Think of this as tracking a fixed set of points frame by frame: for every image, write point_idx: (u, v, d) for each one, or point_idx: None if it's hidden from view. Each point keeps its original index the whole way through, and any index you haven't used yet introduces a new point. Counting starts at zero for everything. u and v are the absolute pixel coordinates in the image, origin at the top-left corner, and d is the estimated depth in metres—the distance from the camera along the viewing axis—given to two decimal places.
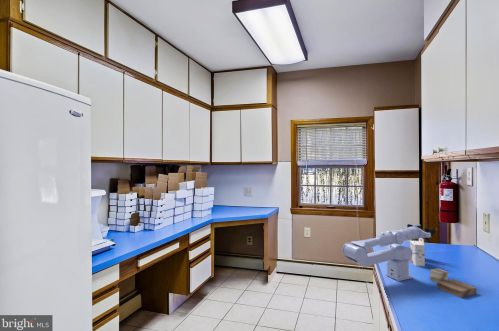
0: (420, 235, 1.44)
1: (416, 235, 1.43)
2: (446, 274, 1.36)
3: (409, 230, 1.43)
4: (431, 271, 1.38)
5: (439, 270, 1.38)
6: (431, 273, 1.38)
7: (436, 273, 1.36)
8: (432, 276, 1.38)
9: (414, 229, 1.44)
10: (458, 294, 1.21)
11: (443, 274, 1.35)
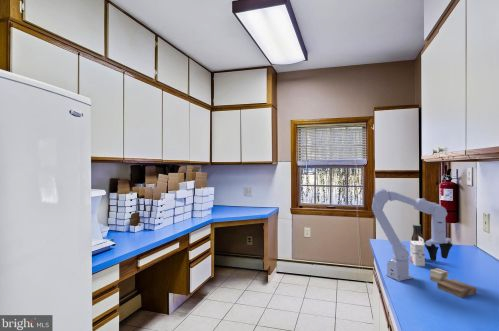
0: (432, 240, 1.37)
1: (433, 235, 1.37)
2: (446, 274, 1.36)
3: (445, 229, 1.35)
4: (431, 271, 1.38)
5: (439, 270, 1.38)
6: (431, 273, 1.38)
7: (436, 273, 1.36)
8: (432, 276, 1.38)
9: (440, 236, 1.35)
10: (458, 294, 1.21)
11: (443, 274, 1.35)
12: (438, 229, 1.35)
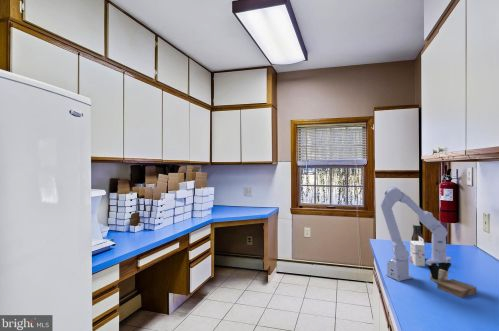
0: (432, 259, 1.37)
1: (433, 254, 1.37)
2: (446, 274, 1.36)
3: (445, 248, 1.35)
4: None
5: (439, 270, 1.38)
6: None
7: None
8: None
9: (440, 256, 1.35)
10: (458, 294, 1.21)
11: (443, 273, 1.35)
12: (438, 248, 1.35)
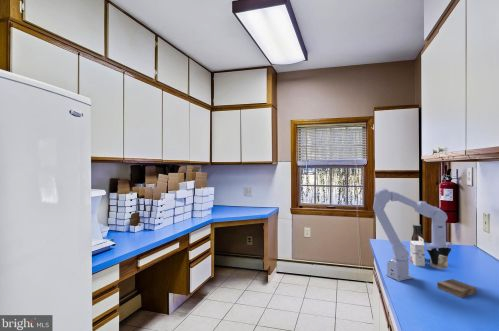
0: (432, 244, 1.37)
1: (433, 239, 1.37)
2: (446, 259, 1.35)
3: (445, 233, 1.35)
4: None
5: (439, 255, 1.38)
6: None
7: None
8: None
9: (440, 241, 1.34)
10: (458, 294, 1.21)
11: (444, 259, 1.35)
12: (438, 233, 1.35)
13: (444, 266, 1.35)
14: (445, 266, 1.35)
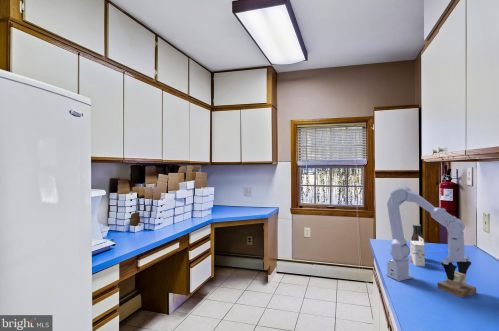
0: (449, 258, 1.27)
1: (450, 252, 1.26)
2: (464, 277, 1.25)
3: (461, 246, 1.24)
4: None
5: (456, 273, 1.28)
6: None
7: None
8: None
9: (458, 254, 1.24)
10: (458, 294, 1.21)
11: (461, 277, 1.25)
12: (453, 246, 1.25)
13: (462, 284, 1.25)
14: (463, 284, 1.25)
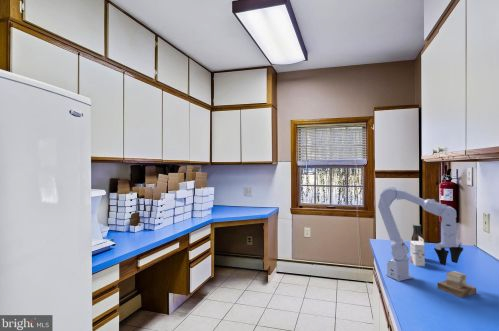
0: (442, 243, 1.31)
1: (443, 238, 1.31)
2: (464, 277, 1.25)
3: (454, 232, 1.29)
4: (448, 274, 1.28)
5: (456, 273, 1.27)
6: (448, 276, 1.28)
7: (454, 276, 1.25)
8: (449, 279, 1.27)
9: (451, 240, 1.29)
10: (458, 294, 1.21)
11: (462, 277, 1.25)
12: (446, 232, 1.30)
13: (462, 285, 1.25)
14: (463, 284, 1.25)
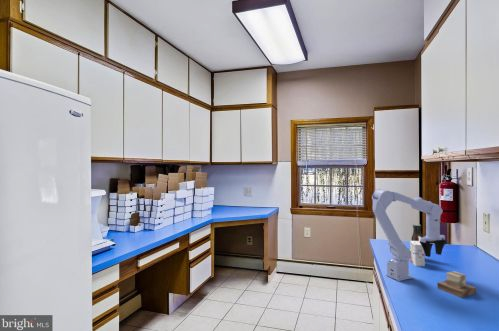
0: (427, 237, 1.43)
1: (427, 232, 1.42)
2: (464, 277, 1.25)
3: (439, 226, 1.41)
4: (448, 274, 1.28)
5: (456, 273, 1.27)
6: (447, 276, 1.28)
7: (453, 276, 1.25)
8: (449, 279, 1.27)
9: (434, 233, 1.40)
10: (458, 294, 1.21)
11: (461, 277, 1.25)
12: (435, 226, 1.40)
13: (462, 285, 1.25)
14: (463, 285, 1.25)
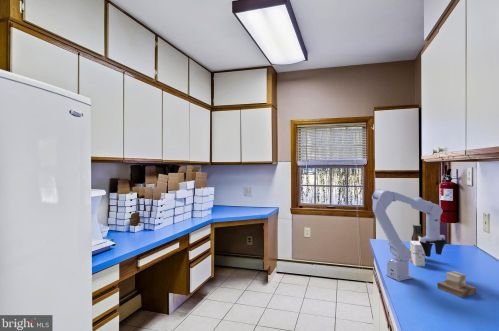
0: (427, 237, 1.43)
1: (427, 232, 1.42)
2: (464, 277, 1.25)
3: (439, 226, 1.41)
4: (447, 274, 1.28)
5: (456, 273, 1.27)
6: (447, 276, 1.28)
7: (453, 276, 1.25)
8: (449, 279, 1.27)
9: (434, 233, 1.40)
10: (458, 294, 1.21)
11: (461, 277, 1.24)
12: (435, 226, 1.40)
13: (462, 285, 1.25)
14: (463, 285, 1.25)
